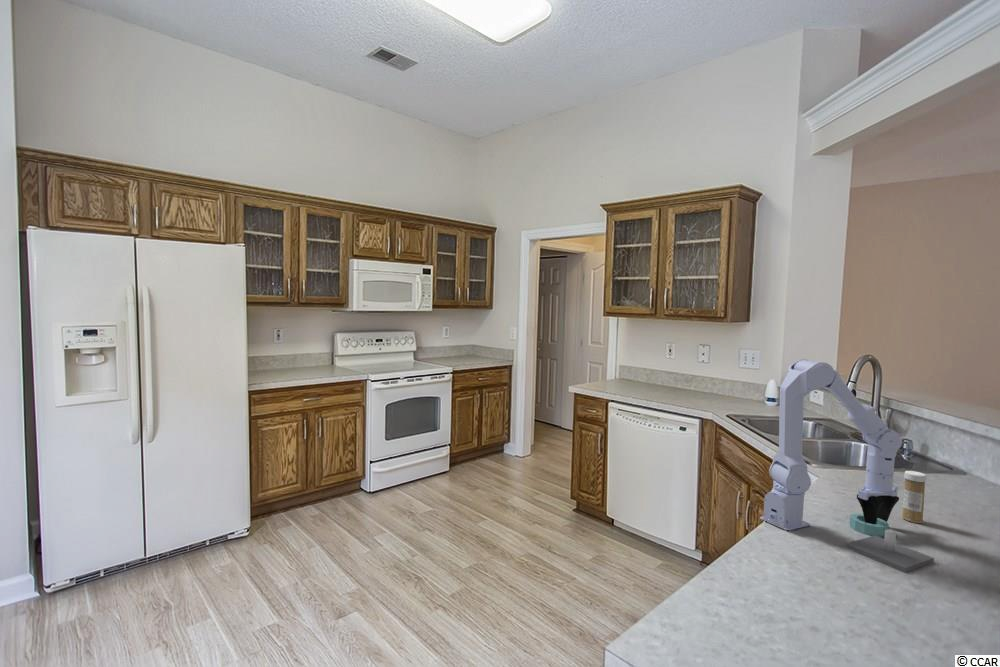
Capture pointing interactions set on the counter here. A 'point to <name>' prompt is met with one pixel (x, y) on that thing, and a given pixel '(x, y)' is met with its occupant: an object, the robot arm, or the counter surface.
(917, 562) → the pin board
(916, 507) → the sprinkles bottle
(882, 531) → the ring
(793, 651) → the counter surface
